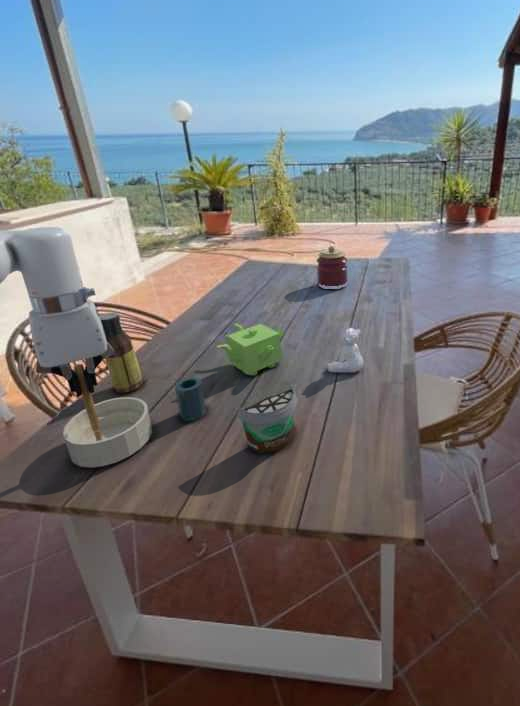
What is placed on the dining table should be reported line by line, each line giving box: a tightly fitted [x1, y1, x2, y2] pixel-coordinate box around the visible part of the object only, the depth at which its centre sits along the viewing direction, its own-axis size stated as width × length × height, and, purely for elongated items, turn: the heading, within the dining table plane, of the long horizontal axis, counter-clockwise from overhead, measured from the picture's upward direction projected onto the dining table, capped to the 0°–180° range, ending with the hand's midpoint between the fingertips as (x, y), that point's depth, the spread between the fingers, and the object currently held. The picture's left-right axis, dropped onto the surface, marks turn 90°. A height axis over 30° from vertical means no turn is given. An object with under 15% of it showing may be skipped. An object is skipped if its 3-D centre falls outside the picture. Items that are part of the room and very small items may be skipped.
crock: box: [174, 376, 207, 423], centre depth 86 cm, size 5×5×8 cm
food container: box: [236, 384, 298, 454], centre depth 77 cm, size 12×6×10 cm, turn 129°
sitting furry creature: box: [327, 327, 365, 374], centre depth 104 cm, size 10×9×12 cm
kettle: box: [216, 322, 286, 377], centre depth 105 cm, size 15×14×11 cm
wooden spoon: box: [73, 363, 102, 441], centre depth 74 cm, size 1×3×17 cm, turn 36°
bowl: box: [62, 396, 153, 469], centre depth 78 cm, size 14×14×6 cm
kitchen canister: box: [316, 245, 348, 286], centre depth 166 cm, size 13×13×18 cm
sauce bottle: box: [99, 312, 143, 394], centre depth 94 cm, size 7×6×20 cm
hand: (85, 390), depth 73 cm, fingers closed on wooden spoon, 1 cm apart
